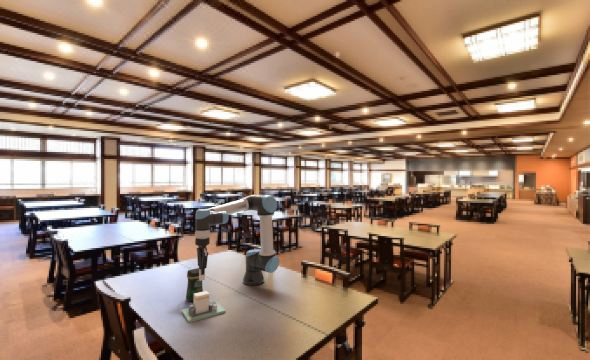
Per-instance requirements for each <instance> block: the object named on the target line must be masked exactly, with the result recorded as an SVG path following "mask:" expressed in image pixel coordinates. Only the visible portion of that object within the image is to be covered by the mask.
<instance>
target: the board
mask: <svg viewBox="0 0 590 360" xmlns="http://www.w3.org/2000/svg"><path fill="white" fill-rule="evenodd" d="M209 302H210V301H209ZM210 303H211V304H212V305H213V312H209V313H206V314H202V315H198V316H195V317H192V316H191V315H190V313H189V307H187V308H183V309H181V314H182V315H183V316H184V318H185V320H186V322H187V324H189V323H194V322H196V321H200V320H203V319H207V318H210V317H215V316H218V315H221V314H225V313H226V311H227V310H226V309H225V308H224V307H223V306H222V305H221V304H220V303H219V302H218V301H217V300H216V301H211V302H210Z"/></svg>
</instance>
